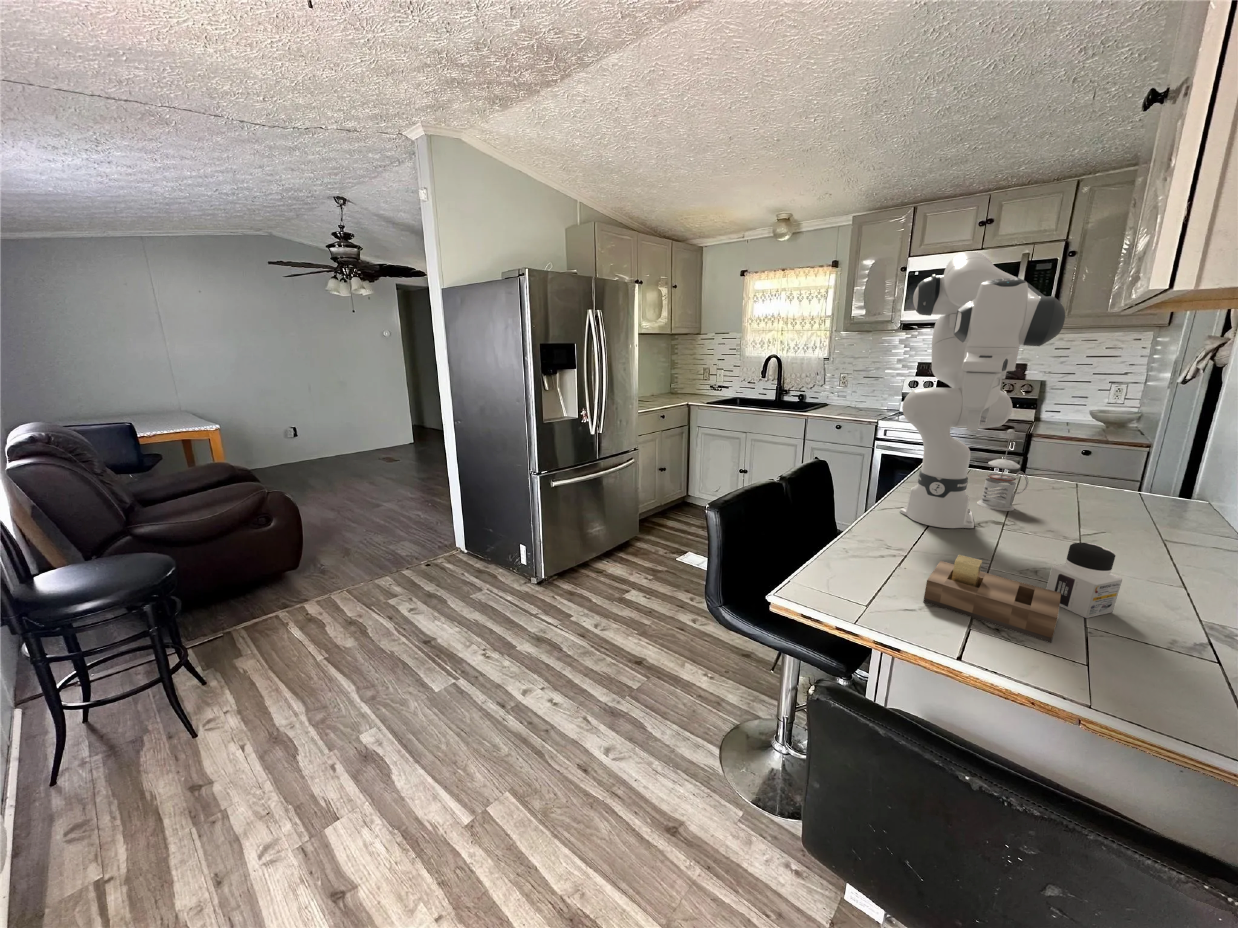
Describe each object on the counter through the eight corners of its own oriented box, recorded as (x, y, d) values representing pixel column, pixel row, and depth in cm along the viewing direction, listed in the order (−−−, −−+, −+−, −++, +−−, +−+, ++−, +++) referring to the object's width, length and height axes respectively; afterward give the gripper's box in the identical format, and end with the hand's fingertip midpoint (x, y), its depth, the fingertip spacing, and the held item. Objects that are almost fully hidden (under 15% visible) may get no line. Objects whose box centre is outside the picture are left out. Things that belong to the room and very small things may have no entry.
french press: (981, 498, 163) (996, 425, 157) (1025, 507, 154) (1043, 430, 148) (972, 504, 157) (987, 429, 151) (1017, 514, 148) (1035, 434, 142)
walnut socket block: (936, 581, 108) (940, 560, 107) (1055, 615, 95) (1061, 592, 93) (923, 601, 100) (927, 579, 98) (1051, 642, 86) (1057, 618, 85)
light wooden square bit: (952, 589, 103) (958, 554, 101) (975, 595, 100) (982, 560, 98) (948, 596, 100) (955, 560, 98) (971, 603, 97) (979, 567, 95)
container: (1086, 619, 94) (1103, 557, 90) (1042, 598, 101) (1057, 541, 98) (1113, 612, 96) (1131, 552, 92) (1068, 593, 103) (1083, 536, 100)
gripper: (979, 359, 109) (967, 419, 113) (961, 362, 95) (949, 431, 99) (1014, 360, 105) (1001, 423, 109) (1001, 364, 91) (987, 436, 94)
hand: (976, 427), depth 104 cm, fingers open, 8 cm apart
